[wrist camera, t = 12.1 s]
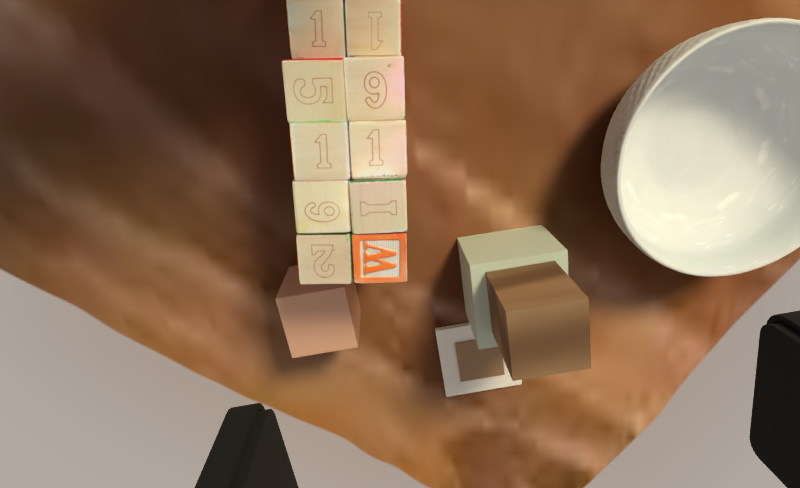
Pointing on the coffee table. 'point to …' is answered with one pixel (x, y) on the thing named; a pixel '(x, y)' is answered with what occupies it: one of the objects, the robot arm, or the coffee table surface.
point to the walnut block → (539, 320)
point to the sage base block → (500, 268)
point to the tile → (469, 362)
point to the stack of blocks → (347, 139)
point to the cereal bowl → (711, 151)
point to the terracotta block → (318, 315)
